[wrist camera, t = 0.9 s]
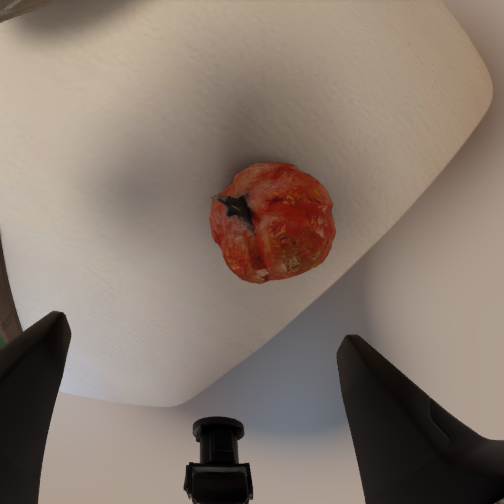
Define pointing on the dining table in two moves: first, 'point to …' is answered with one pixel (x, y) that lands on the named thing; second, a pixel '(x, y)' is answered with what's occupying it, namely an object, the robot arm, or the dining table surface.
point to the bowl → (19, 7)
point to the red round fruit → (272, 222)
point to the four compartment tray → (7, 308)
